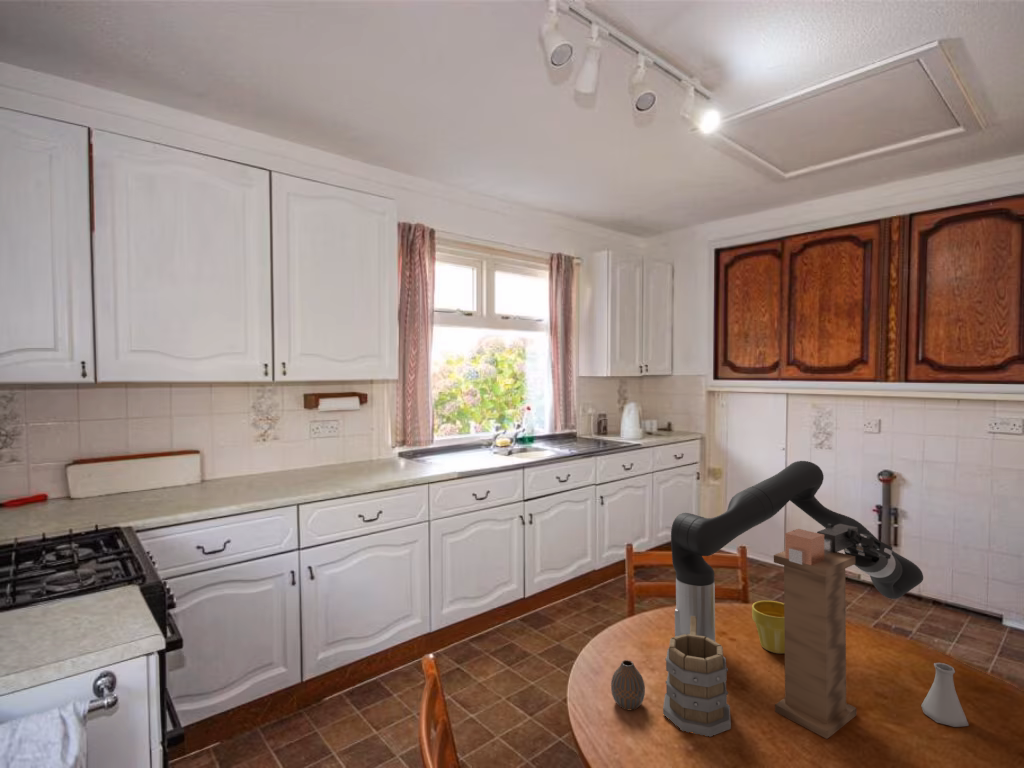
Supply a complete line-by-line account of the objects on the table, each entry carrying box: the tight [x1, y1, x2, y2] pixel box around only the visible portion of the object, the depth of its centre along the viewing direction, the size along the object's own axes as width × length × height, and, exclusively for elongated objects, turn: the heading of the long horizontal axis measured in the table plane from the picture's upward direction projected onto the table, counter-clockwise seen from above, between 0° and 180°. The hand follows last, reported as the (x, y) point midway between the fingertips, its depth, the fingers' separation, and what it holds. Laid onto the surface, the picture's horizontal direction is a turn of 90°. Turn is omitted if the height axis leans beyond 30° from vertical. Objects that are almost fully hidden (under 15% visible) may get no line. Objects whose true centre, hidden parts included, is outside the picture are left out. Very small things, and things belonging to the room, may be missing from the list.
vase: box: [610, 659, 646, 710], centre depth 110 cm, size 7×7×9 cm
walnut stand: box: [773, 550, 857, 740], centre depth 106 cm, size 12×10×32 cm
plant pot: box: [751, 600, 785, 655], centre depth 132 cm, size 10×10×10 cm
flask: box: [920, 662, 970, 728], centre depth 105 cm, size 7×7×10 cm
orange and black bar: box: [784, 524, 858, 565], centre depth 108 cm, size 22×5×5 cm, turn 124°
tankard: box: [662, 616, 732, 738], centre depth 110 cm, size 20×13×15 cm, turn 160°
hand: (838, 530), depth 112 cm, fingers closed on orange and black bar, 3 cm apart
